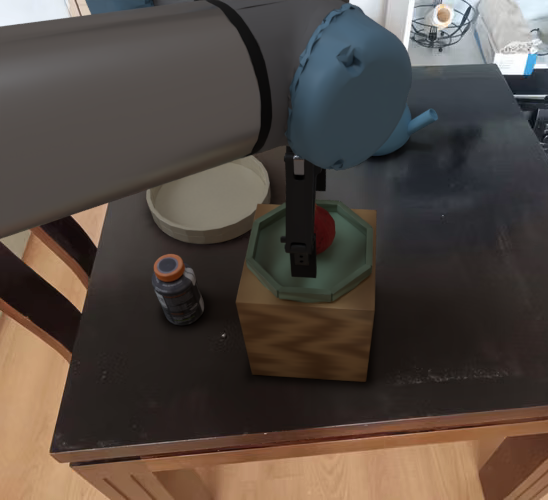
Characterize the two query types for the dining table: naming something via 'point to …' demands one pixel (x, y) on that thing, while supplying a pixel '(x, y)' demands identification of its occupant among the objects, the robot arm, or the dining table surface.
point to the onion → (323, 229)
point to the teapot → (406, 130)
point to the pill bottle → (177, 290)
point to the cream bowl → (211, 202)
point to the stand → (310, 299)
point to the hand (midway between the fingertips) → (310, 229)
